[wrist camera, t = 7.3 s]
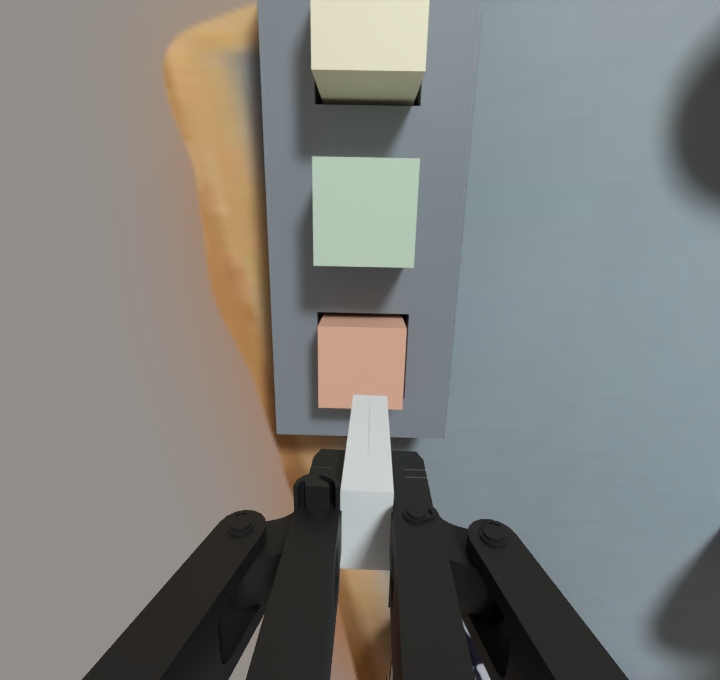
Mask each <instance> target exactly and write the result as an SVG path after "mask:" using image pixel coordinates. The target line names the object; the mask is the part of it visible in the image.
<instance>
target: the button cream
mask: <svg viewBox="0 0 720 680" xmlns="http://www.w3.org/2000/svg"><path fill="white" fill-rule="evenodd" d="M429 1H430V0H310V10H311V70H312V73H313V76H314V79H315V81H316V84H317V87H318V90H319V93H320V96H321V99H322V101H323V104H324V105H383V106H413V104H414V101H415V98H416V96H417V93H418V90H419V87H420V85H421V82H422V79H423V77H424V74H425V71H426V54H427V36H428V19H429Z"/></svg>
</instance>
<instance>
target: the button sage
mask: <svg viewBox="0 0 720 680" xmlns="http://www.w3.org/2000/svg"><path fill="white" fill-rule="evenodd" d="M419 168H420V158H372V157H316V156H312V190H313V264H314V266H347V267H394V268H414V256H415V239H416V221H417V203H418V186H419Z"/></svg>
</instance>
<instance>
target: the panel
mask: <svg viewBox="0 0 720 680" xmlns="http://www.w3.org/2000/svg"><path fill="white" fill-rule="evenodd" d="M257 6H258V28H259V51H260V73H261V95H262V118H263V140H264V162H265V184H266V207H267V229H268V251H269V274H270V296H271V318H272V341H273V363H274V385H275V407H276V430H277V434H290V435H328V436H348V430H349V423H350V415H351V409H349V408H318V325H319V323H320V321H321V319H322V317H323V315H324V313H325V312H336V313H380V314H402V318H403V320H404V323H405V325H406V328H407V334H406V352H405V371H404V389H403V407H402V410H388V415H389V430H390V437H404V438H442V439H444V437H445V425H446V414H447V403H448V392H449V381H450V370H451V358H452V347H453V336H454V325H455V314H456V302H457V291H458V280H459V269H460V258H461V246H462V235H463V224H464V213H465V202H466V190H467V179H468V168H469V157H470V146H471V135H472V123H473V112H474V101H475V90H476V79H477V67H478V56H479V45H480V34H481V23H482V11H483V0H430V1H429V19H428V36H427V54H426V71H425V74H424V77H423V79H422V82H421V85H420V87H419V90H418V93H417V96H416V98H415V101H414V104H413V106H383V105H324V104H323V101H322V99H321V96H320V93H319V90H318V87H317V84H316V81H315V79H314V76H313V73H312V70H311V10H310V0H257ZM312 156H316V157H372V158H420V168H419V186H418V203H417V221H416V239H415V256H414V268H394V267H347V266H314V264H313V190H312Z"/></svg>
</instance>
